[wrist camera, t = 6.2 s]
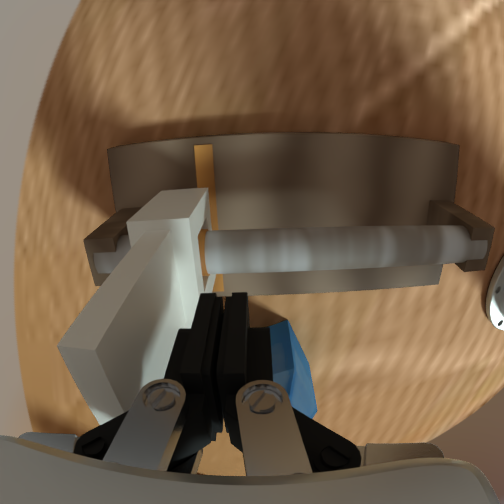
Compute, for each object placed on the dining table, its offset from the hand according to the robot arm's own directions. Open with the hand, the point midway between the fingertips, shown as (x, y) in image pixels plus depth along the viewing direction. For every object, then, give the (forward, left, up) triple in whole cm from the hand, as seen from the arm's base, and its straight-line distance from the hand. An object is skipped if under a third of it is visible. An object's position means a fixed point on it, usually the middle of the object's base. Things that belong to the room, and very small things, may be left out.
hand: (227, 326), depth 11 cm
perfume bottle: (-2, +14, -14) cm, 20 cm away
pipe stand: (-4, 0, -14) cm, 14 cm away
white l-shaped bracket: (+3, 0, -10) cm, 10 cm away
